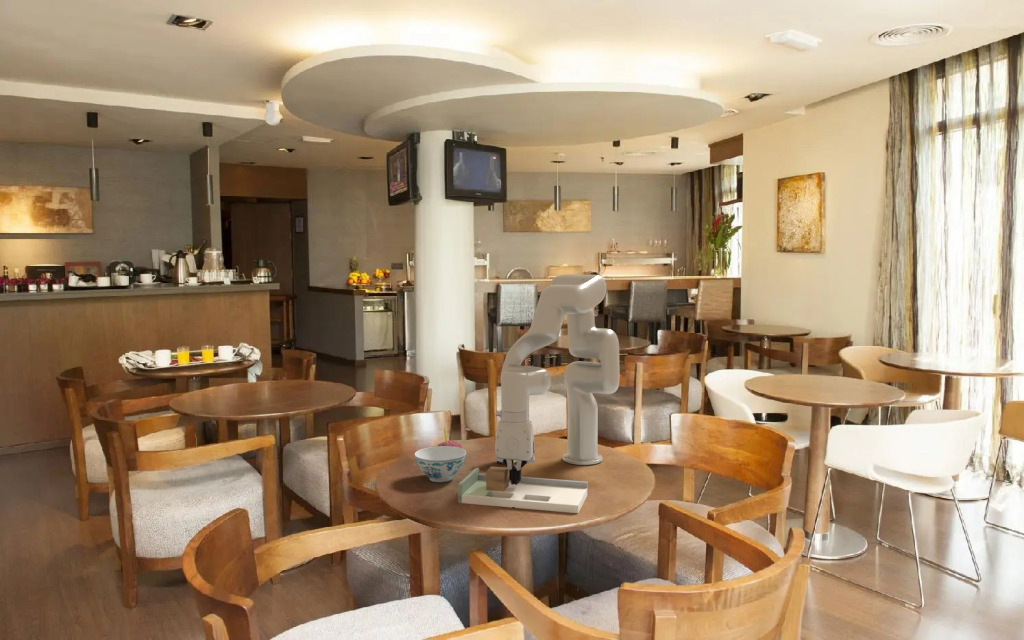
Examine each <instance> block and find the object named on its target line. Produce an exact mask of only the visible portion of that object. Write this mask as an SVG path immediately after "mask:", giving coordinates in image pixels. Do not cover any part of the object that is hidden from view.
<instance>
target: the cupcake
mask: <svg viewBox="0 0 1024 640" xmlns="http://www.w3.org/2000/svg"><path fill="white" fill-rule="evenodd" d="M443 431H444V440H445V441H442V442H440V443H438V445H437V446H451V447H458V448H461V449H463V446H462V444H460V443H458V442H457V441H453V440H448V433H447V429H446V428H445V427H444V429H443Z"/></svg>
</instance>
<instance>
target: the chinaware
mask: <svg viewBox="0 0 1024 640" xmlns="http://www.w3.org/2000/svg"><path fill="white" fill-rule="evenodd" d="M466 456H467V451H466V450H465V449H463V448H462V449H461V448H458V447H451V446H438V445H436V446H431V447H425V448H421V449H418V450H417V451H415V453H414V457H415V458H414V459H415V462H416V464H417V467H418V468H419V469H420V471H421V472H422V473H423V474H424V475H426V476H427V477H428V478H429V479H428V480H430V481H431V482H434V483H446V482H449V481H451V480H453V476H455V475H456V474H457V473H458V472H459V471H460V470H461V469H462V467H463V466H464V463H465V460H466Z"/></svg>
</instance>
